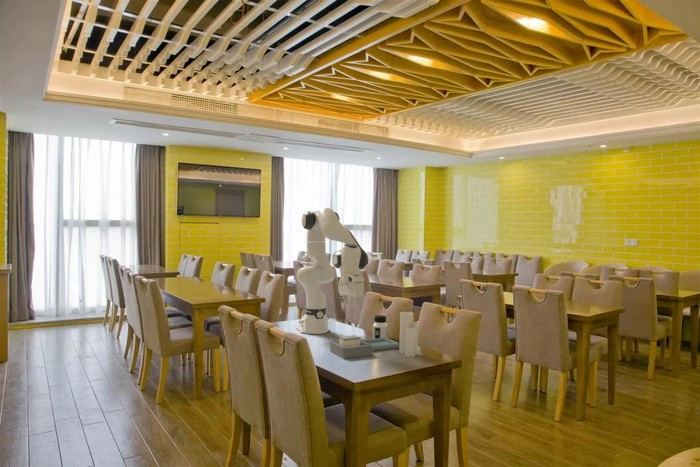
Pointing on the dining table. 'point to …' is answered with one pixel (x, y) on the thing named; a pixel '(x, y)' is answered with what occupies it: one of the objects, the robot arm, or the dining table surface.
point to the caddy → (349, 341)
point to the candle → (408, 334)
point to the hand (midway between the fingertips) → (350, 304)
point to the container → (379, 327)
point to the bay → (351, 350)
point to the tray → (381, 344)
